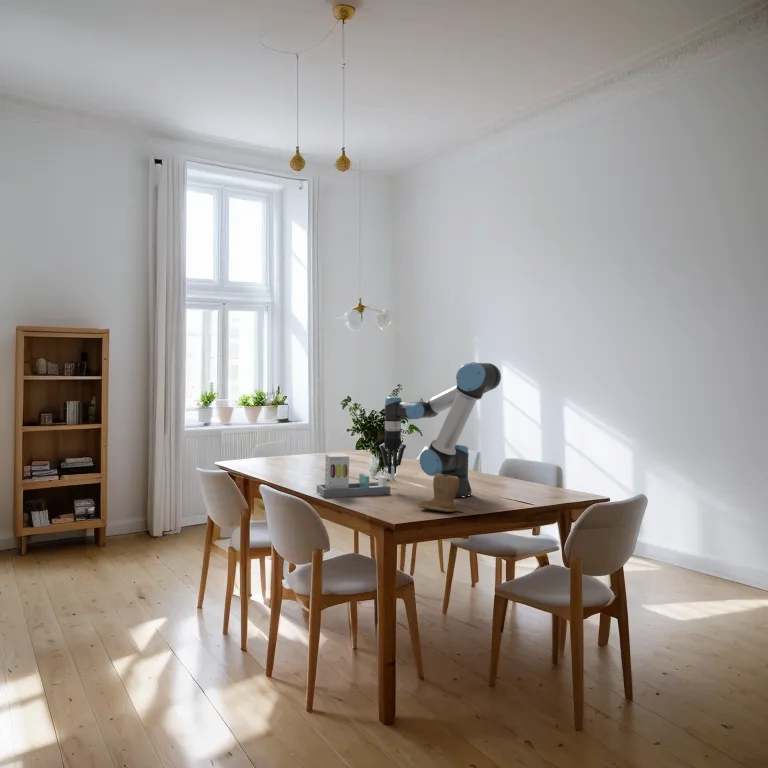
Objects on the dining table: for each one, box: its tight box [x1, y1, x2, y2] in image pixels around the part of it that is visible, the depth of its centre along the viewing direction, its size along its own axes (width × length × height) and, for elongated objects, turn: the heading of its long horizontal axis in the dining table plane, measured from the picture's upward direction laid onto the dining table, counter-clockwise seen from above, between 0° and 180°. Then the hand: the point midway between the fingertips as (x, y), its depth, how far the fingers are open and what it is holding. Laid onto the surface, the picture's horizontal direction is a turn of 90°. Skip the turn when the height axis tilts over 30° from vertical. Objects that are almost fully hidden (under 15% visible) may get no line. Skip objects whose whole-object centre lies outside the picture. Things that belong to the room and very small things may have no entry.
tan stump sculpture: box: [417, 473, 460, 513], centre depth 275 cm, size 15×12×15 cm
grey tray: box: [316, 481, 391, 498], centre depth 311 cm, size 14×31×4 cm, turn 109°
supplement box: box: [324, 453, 350, 489], centre depth 308 cm, size 10×9×17 cm
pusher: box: [358, 472, 388, 488], centre depth 314 cm, size 11×11×7 cm
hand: (391, 480), depth 317 cm, fingers closed
